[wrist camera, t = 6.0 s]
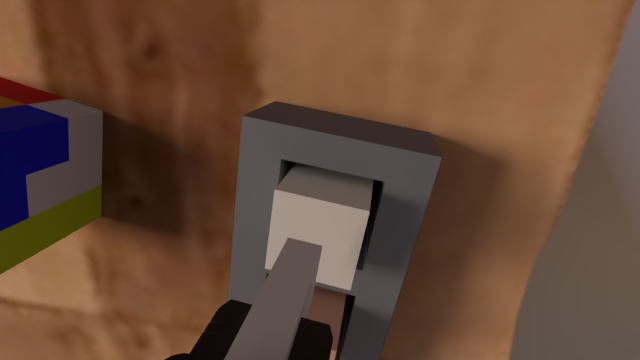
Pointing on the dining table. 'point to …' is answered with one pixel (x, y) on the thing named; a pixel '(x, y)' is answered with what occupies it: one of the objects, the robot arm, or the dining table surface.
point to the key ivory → (322, 219)
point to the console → (347, 157)
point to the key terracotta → (328, 312)
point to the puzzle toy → (45, 170)
